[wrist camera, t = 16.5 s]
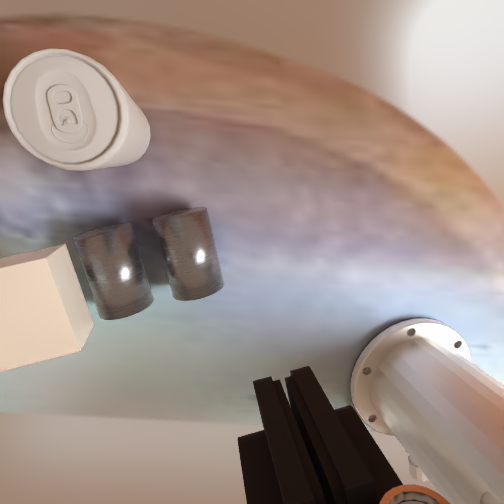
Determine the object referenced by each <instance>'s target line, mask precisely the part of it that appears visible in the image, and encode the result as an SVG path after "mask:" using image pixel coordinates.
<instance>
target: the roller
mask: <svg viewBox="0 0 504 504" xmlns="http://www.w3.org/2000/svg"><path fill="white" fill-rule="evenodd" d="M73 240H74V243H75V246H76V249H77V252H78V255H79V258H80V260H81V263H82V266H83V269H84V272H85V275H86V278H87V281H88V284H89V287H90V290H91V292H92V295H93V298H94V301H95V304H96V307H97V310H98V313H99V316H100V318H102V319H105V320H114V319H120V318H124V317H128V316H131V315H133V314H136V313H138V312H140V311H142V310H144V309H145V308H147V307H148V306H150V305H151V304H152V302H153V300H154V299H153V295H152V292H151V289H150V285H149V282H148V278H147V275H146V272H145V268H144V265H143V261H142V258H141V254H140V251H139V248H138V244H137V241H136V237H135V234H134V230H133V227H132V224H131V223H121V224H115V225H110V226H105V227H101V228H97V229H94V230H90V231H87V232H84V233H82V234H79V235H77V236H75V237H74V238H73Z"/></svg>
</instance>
